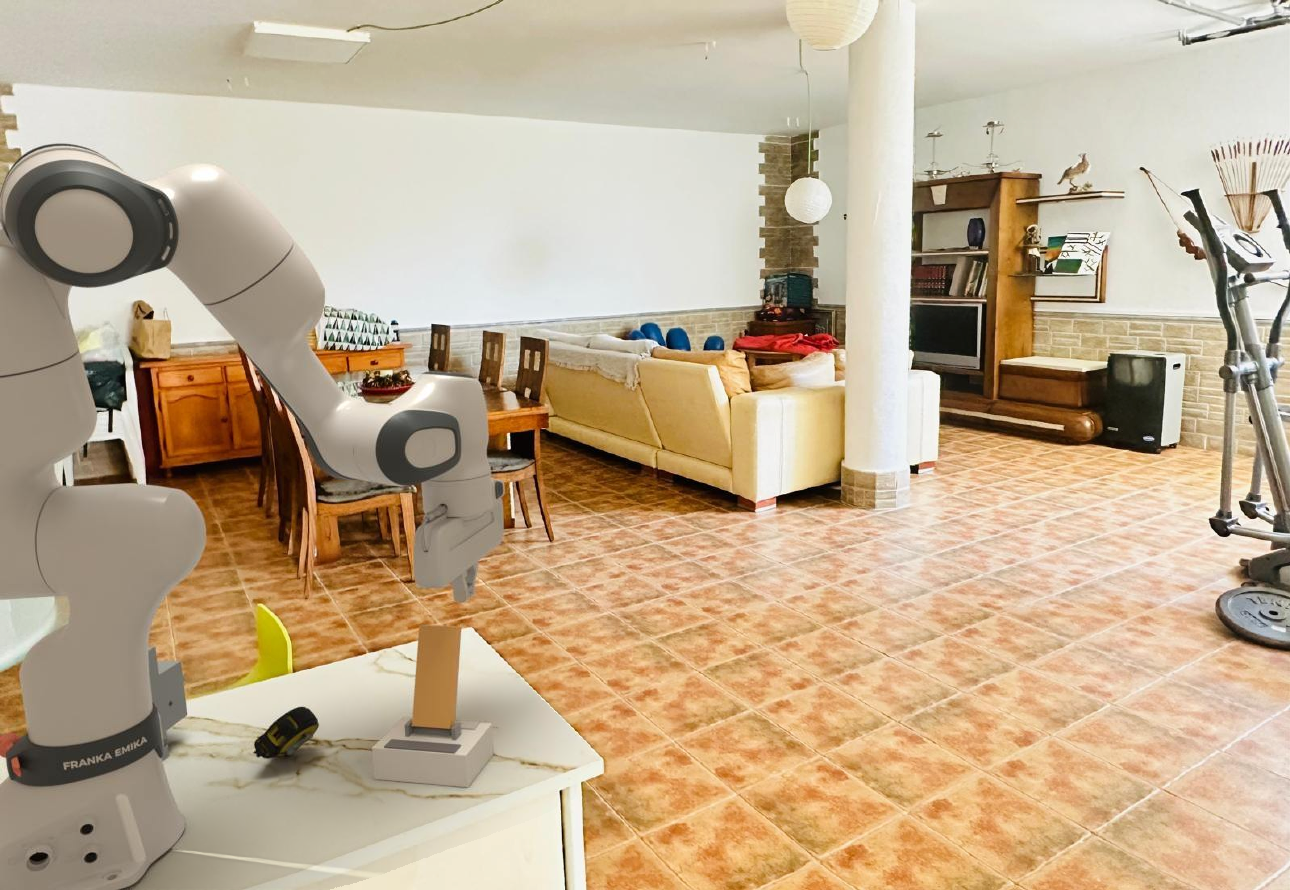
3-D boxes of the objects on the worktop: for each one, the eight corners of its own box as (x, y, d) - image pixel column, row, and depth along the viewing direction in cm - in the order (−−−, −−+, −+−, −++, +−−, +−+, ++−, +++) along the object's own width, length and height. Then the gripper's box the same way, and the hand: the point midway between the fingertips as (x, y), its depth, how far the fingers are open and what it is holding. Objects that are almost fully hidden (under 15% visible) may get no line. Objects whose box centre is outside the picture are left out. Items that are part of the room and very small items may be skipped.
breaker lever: (449, 736, 105) (456, 627, 107) (411, 734, 106) (419, 625, 108) (454, 735, 107) (461, 626, 109) (416, 732, 108) (424, 625, 110)
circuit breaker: (198, 735, 117) (185, 628, 115) (125, 793, 103) (109, 673, 101) (146, 734, 118) (132, 628, 116) (67, 792, 104) (49, 672, 102)
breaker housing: (468, 787, 102) (465, 743, 101) (374, 779, 105) (370, 736, 104) (493, 753, 110) (491, 712, 109) (406, 746, 112) (402, 705, 112)
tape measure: (290, 763, 111) (273, 740, 112) (332, 725, 112) (315, 702, 113) (264, 768, 105) (246, 743, 106) (309, 727, 106) (291, 703, 107)
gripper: (445, 517, 102) (453, 629, 104) (509, 479, 122) (515, 574, 124) (395, 516, 103) (405, 627, 106) (467, 478, 123) (473, 573, 125)
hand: (465, 598), depth 115 cm, fingers closed
